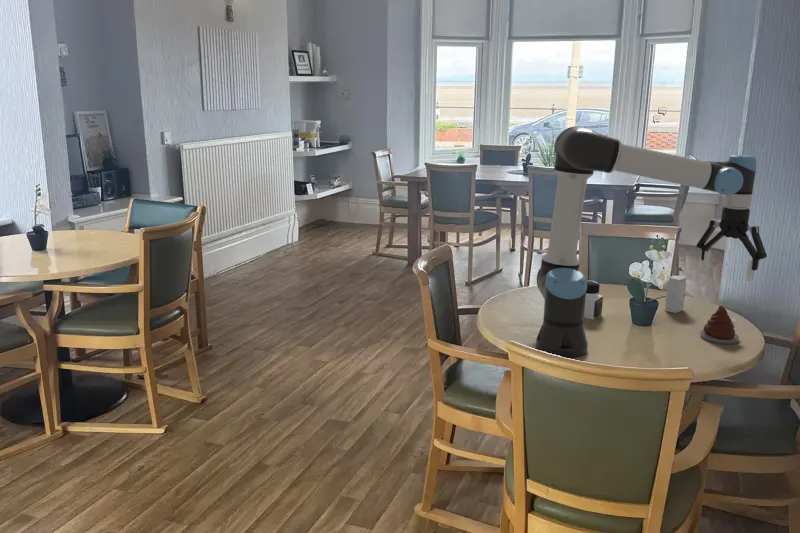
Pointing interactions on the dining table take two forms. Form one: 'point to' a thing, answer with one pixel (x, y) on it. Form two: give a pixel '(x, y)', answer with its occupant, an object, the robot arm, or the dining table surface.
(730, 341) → the coaster
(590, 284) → the medicine bottle
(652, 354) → the dining table surface
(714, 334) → the poop emoji
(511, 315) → the dining table surface
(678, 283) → the skincare box
